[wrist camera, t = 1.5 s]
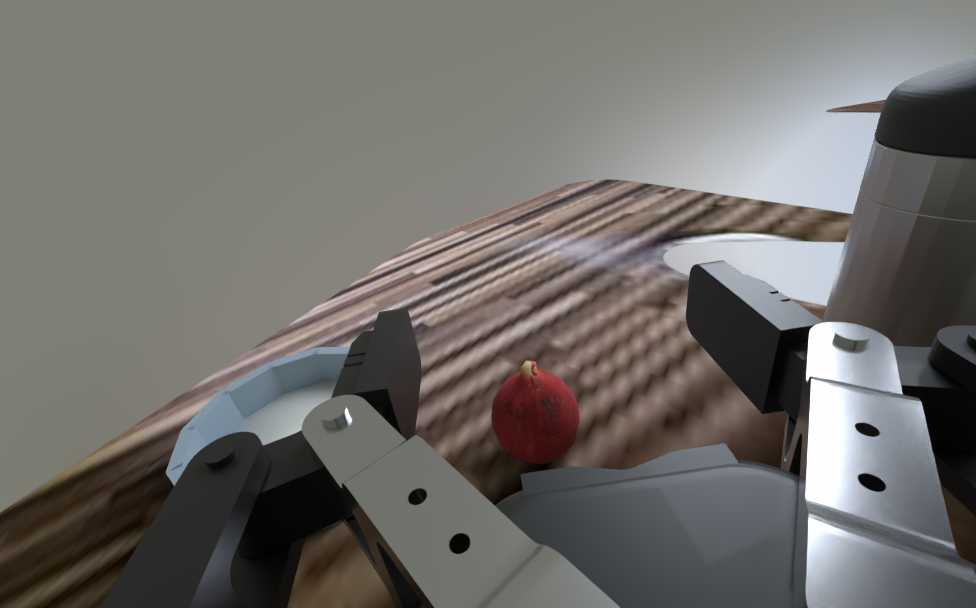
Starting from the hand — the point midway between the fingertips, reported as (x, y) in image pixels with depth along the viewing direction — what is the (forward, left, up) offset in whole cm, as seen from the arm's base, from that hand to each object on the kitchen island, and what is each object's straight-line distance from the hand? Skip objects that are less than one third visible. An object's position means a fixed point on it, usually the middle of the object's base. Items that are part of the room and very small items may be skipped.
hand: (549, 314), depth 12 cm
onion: (-3, -10, -19) cm, 22 cm away
